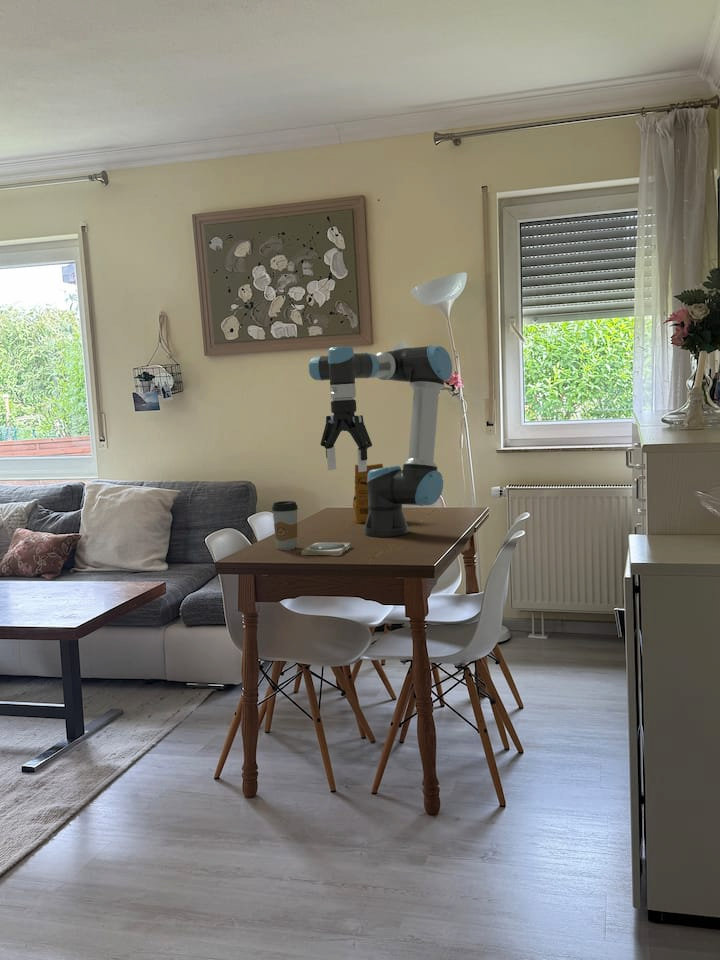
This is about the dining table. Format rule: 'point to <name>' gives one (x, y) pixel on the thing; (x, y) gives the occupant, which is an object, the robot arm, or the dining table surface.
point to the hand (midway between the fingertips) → (347, 470)
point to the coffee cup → (285, 524)
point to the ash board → (326, 549)
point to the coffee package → (362, 494)
